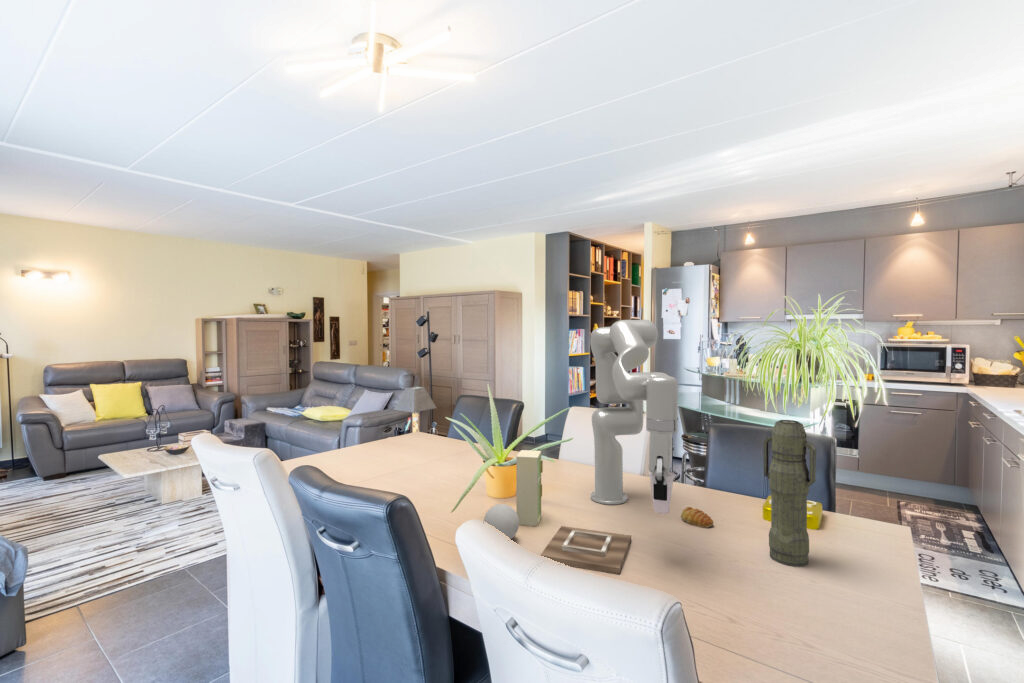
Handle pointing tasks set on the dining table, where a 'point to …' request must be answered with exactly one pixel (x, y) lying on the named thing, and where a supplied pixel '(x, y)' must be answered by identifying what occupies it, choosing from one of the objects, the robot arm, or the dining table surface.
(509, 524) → the ball
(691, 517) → the pastry
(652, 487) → the smoothie
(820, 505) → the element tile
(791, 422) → the thermos
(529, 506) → the toy refrigerator
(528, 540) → the dining table surface
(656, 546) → the dining table surface
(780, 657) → the dining table surface
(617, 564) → the walnut board
